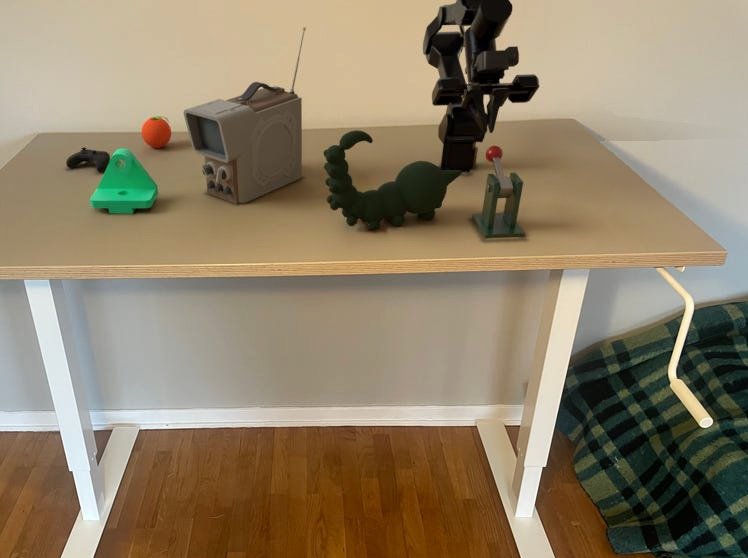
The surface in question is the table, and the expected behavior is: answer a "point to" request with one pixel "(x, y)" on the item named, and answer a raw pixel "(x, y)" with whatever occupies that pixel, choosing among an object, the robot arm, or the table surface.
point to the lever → (499, 171)
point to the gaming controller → (89, 158)
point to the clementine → (156, 132)
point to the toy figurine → (385, 188)
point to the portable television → (249, 141)
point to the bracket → (500, 222)
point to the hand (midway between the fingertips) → (488, 132)
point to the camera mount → (124, 185)
